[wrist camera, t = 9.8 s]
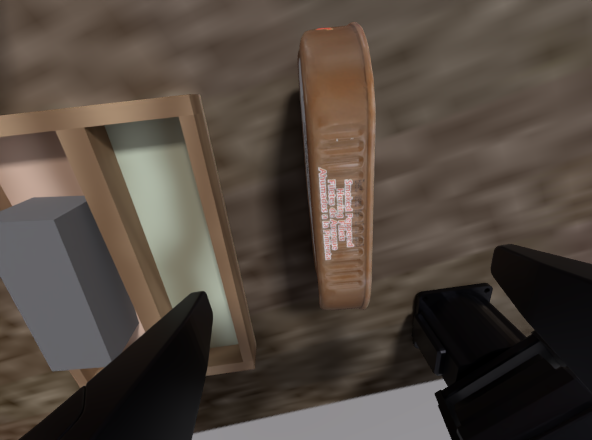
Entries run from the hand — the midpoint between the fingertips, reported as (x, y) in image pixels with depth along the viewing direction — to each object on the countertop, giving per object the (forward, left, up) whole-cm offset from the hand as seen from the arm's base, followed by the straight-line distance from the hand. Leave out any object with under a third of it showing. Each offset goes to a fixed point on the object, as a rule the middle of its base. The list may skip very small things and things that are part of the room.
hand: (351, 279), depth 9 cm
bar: (+16, +5, -11) cm, 20 cm away
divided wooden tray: (+13, +5, -12) cm, 18 cm away
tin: (-1, 0, -12) cm, 12 cm away
